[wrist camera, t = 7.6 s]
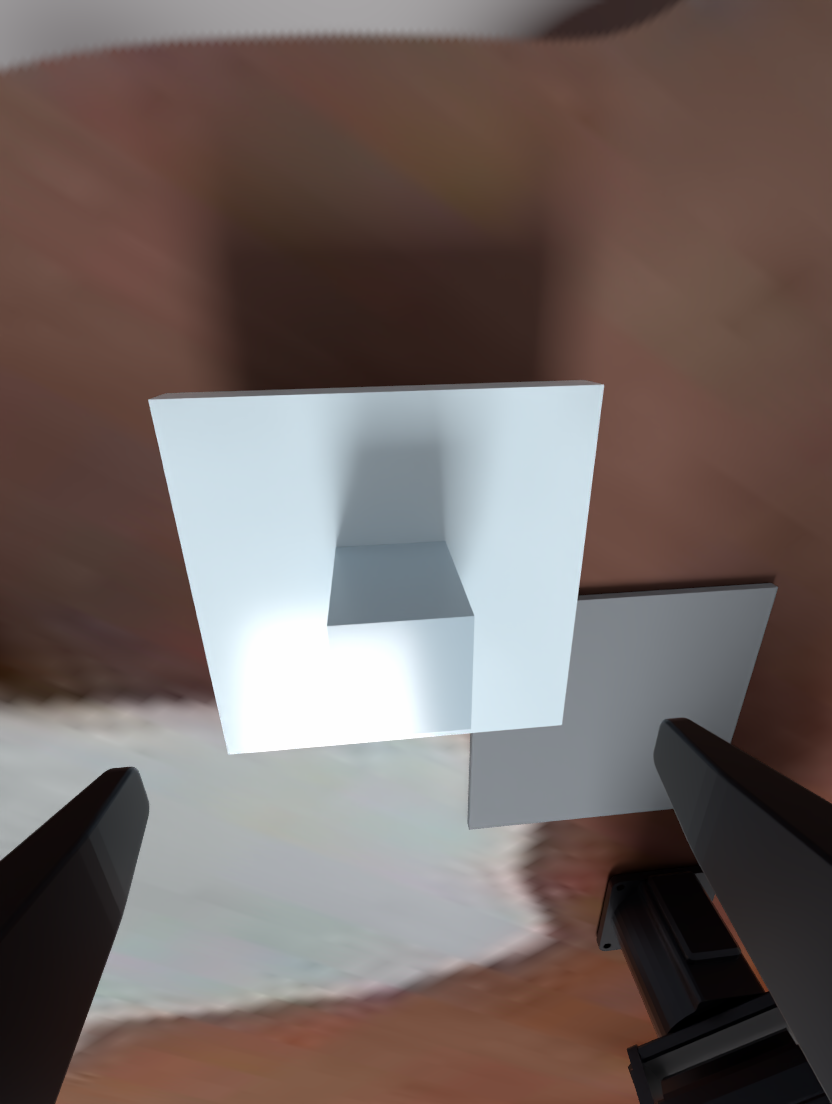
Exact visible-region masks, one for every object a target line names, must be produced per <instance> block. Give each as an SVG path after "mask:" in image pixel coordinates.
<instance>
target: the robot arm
mask: <svg viewBox="0 0 832 1104" xmlns="http://www.w3.org/2000/svg"><path fill="white" fill-rule="evenodd" d="M653 760H654V764H655V767H656V770H657V772H658V775H659V777H660V779H661V781H662V784H663V786H664V788H665V791H666V793H667V795H668V797H669V800H670V802H671V804H672V807H673V809H674V811H675V814H676V816H677V818H678V820H679V823H680V825H681V827H682V830H683V832H684V834H685V836H686V839H687V841H688V843H689V845H690V847H691V849H692V852H693V854H694V855H695V857H696V859H697V861H698V863H699V865H700V866H693V867H684V868H675V869H666V870H657V871H649V872H640V873H631V874H622V875H616V876H613V877H612V878H611V879H610V880H609V883H608V887H607V892H606V897H605V902H604V907H603V912H602V916H601V921H600V926H599V931H598V936H597V943H598V946H599V949H600V950H602V951H610V950H618V949H621V950H622V952H623V954H624V957H625V959H626V962H627V964H628V966H629V969H630V971H631V974H632V976H633V978H634V981H635V983H636V986H637V988H638V990H639V993H640V995H641V998H642V1000H643V1002H644V1005H645V1007H646V1010H647V1012H648V1014H649V1017H650V1019H651V1022H652V1024H653V1026H654V1029H655V1031H656V1034H657V1036H658V1038H657V1039H655V1040H652V1041H650V1042H648V1043H645V1044H643V1045H640V1046H638V1045H634V1046H632V1047H629V1048H627V1052H628V1055H629V1059H630V1062H631V1064H630V1065H629V1067H628V1069H629V1072H630V1074H631V1077H632V1080H633V1083H634V1085H635V1088H636V1092H637V1095H638V1098H639V1102H640V1104H832V804H831V803H830V802H828V801H826V800H825V799H823V798H821V797H820V796H818V795H816V794H814V793H813V792H811V791H809V790H808V789H806V788H804V787H803V786H801V785H799V784H798V783H796V782H794V781H793V780H791V779H789V778H788V777H786V776H784V775H782V774H781V773H779V772H777V771H776V770H774V769H772V768H771V767H769V766H767V765H766V764H764V763H762V762H761V761H759V760H757V759H755V758H754V757H752V756H750V755H749V754H747V753H745V752H744V751H742V750H740V749H739V748H737V747H735V746H734V745H732V744H730V743H729V742H727V741H725V740H723V739H722V738H720V737H718V736H717V735H715V734H713V733H712V732H710V731H708V730H707V729H705V728H703V727H702V726H700V725H698V724H697V723H695V722H693V721H691V720H690V719H687V718H683V717H681V718H669V719H664V720H663V721H662V722H661V723H660V725H659V730H658V734H657V738H656V743H655V747H654V751H653ZM148 816H149V801H148V797H147V794H146V791H145V788H144V785H143V782H142V779H141V776H140V773H139V771H138V770H137V769H136V768H135V767H123V768H112V769H109V770H107V771H106V772H104V773H103V774H102V775H101V776H99V777H98V778H97V779H96V780H95V781H93V782H92V783H91V784H90V785H89V786H88V787H86V788H85V789H84V790H83V791H82V792H81V793H79V794H78V795H77V796H76V797H75V798H74V799H72V800H71V801H70V802H69V803H68V804H66V805H65V806H64V807H63V808H62V809H61V810H59V811H58V812H57V813H56V814H55V815H54V816H52V817H51V818H50V819H49V820H48V821H47V822H45V823H44V824H43V825H42V826H41V827H40V828H38V829H37V830H36V831H35V832H34V833H32V834H31V835H30V836H29V837H28V838H27V839H25V840H24V841H23V842H22V843H21V844H20V845H18V846H17V847H16V848H15V849H14V850H13V851H11V852H10V853H9V854H8V855H7V856H5V857H4V858H3V859H2V860H1V861H0V1104H55V1103H56V1100H57V1097H58V1094H59V1092H60V1089H61V1086H62V1083H63V1081H64V1078H65V1075H66V1072H67V1069H68V1067H69V1064H70V1061H71V1058H72V1056H73V1053H74V1050H75V1047H76V1045H77V1042H78V1039H79V1036H80V1034H81V1031H82V1028H83V1025H84V1023H85V1020H86V1017H87V1014H88V1012H89V1009H90V1006H91V1003H92V1000H93V998H94V995H95V992H96V989H97V987H98V984H99V981H100V978H101V976H102V973H103V970H104V967H105V965H106V962H107V959H108V956H109V954H110V951H111V948H112V945H113V942H114V940H115V937H116V934H117V931H118V928H119V925H120V922H121V919H122V916H123V913H124V909H125V906H126V902H127V898H128V894H129V890H130V887H131V883H132V879H133V875H134V871H135V867H136V863H137V859H138V855H139V851H140V847H141V843H142V840H143V836H144V832H145V828H146V824H147V820H148ZM715 894H716V896H717V898H718V899H719V901H720V903H721V905H722V907H723V909H724V910H725V912H726V914H727V916H728V918H729V919H730V921H731V923H732V925H733V927H734V928H735V930H736V932H737V934H738V936H739V938H740V939H741V941H742V943H743V945H744V947H745V948H746V950H747V952H748V954H749V956H750V957H751V959H752V961H753V963H754V965H755V966H756V968H757V970H758V972H759V974H760V976H761V977H762V979H763V981H764V983H765V985H766V986H767V988H768V990H769V991H768V992H765V991H764V989H763V987H762V986H761V984H760V982H759V981H758V979H757V977H756V976H755V974H754V972H753V971H752V969H751V967H750V966H749V964H748V963H747V961H746V959H745V958H744V956H743V954H742V953H741V950H740V947H739V945H738V944H737V942H736V940H735V939H734V937H733V936H732V934H731V932H730V931H729V929H728V927H727V926H726V924H725V922H724V921H723V919H722V917H721V916H720V914H719V913H718V911H717V909H716V908H715V906H714V904H713V903H712V901H713V898H714V895H715Z"/></svg>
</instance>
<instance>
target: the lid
mask: <svg viewBox="0 0 832 1104" xmlns="http://www.w3.org/2000/svg"><path fill="white" fill-rule="evenodd" d="M603 389H604V385H603V384H599V383H595V382H591V381H587V380H567V381H536V382H504V383H473V384H442V385H411V386H379V387H348V388H317V389H286V390H254V391H223V392H192V393H166V394H163V395H160V396H157V397H154V398H152V399H149V400H148V401H149V405H150V409H151V414H152V418H153V423H154V427H155V432H156V436H157V440H158V445H159V449H160V454H161V458H162V463H163V467H164V471H165V476H166V480H167V485H168V489H169V494H170V498H171V502H172V507H173V511H174V516H175V520H176V525H177V529H178V533H179V538H180V542H181V547H182V551H183V556H184V560H185V565H186V569H187V573H188V578H189V582H190V587H191V591H192V596H193V600H194V604H195V609H196V613H197V618H198V622H199V627H200V631H201V635H202V640H203V644H204V649H205V653H206V658H207V662H208V666H209V671H210V675H211V680H212V684H213V689H214V693H215V697H216V702H217V706H218V711H219V715H220V720H221V724H222V728H223V733H224V737H225V742H226V746H227V751H228V754H239V753H250V752H262V751H273V750H285V749H296V748H307V747H319V746H330V745H341V744H353V743H364V742H375V741H387V740H398V739H409V738H421V737H432V736H444V735H455V734H466V733H478V732H489V731H500V730H512V729H523V728H534V727H546V726H557V725H562V720H563V712H564V704H565V696H566V688H567V680H568V671H569V663H570V655H571V647H572V639H573V631H574V623H575V615H576V607H577V599H578V591H579V583H580V575H581V567H582V559H583V550H584V542H585V534H586V526H587V518H588V510H589V502H590V494H591V486H592V478H593V470H594V462H595V454H596V446H597V438H598V430H599V421H600V413H601V405H602V397H603Z"/></svg>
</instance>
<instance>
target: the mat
mask: <svg viewBox="0 0 832 1104" xmlns="http://www.w3.org/2000/svg"><path fill="white" fill-rule="evenodd" d="M777 589H778V587H777V586H775V585H774V584H772V583H763V584H747V585H732V586H717V587H702V588H686V589H671V590H656V591H641V592H625V593H610V594H595V595H580V596H578V599H577V607H576V615H575V623H574V631H573V639H572V647H571V655H570V663H569V671H568V680H567V688H566V696H565V704H564V712H563V720H562V725H557V726H546V727H534V728H523V729H512V730H500V731H489V732H478V733H471V735H470V766H469V796H468V827H469V830H470V829H480V828H490V827H499V826H509V825H519V824H529V823H538V822H548V821H558V820H568V819H578V818H587V817H597V816H607V815H617V814H626V813H636V812H646V811H656V810H666V809H673V807H672V804H671V802H670V800H669V797H668V795H667V793H666V791H665V788H664V786H663V784H662V781H661V779H660V777H659V775H658V772H657V770H656V767H655V764H654V760H653V751H654V747H655V743H656V738H657V734H658V730H659V725H660V723H661V722H662V721H663V720H664V719H669V718H681V717H683V718H687V719H690V720H691V721H693V722H695V723H697V724H698V725H700V726H702V727H703V728H705V729H707V730H708V731H710V732H712V733H713V734H715V735H717V736H718V737H720V738H722V739H723V740H725V741H727V742H729V743H731V740H732V737H733V733H734V730H735V727H736V724H737V720H738V717H739V714H740V710H741V707H742V704H743V701H744V697H745V694H746V691H747V688H748V684H749V681H750V678H751V674H752V671H753V668H754V665H755V661H756V658H757V655H758V651H759V648H760V645H761V642H762V638H763V635H764V632H765V629H766V625H767V622H768V619H769V615H770V612H771V609H772V606H773V602H774V599H775V596H776V592H777Z"/></svg>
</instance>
